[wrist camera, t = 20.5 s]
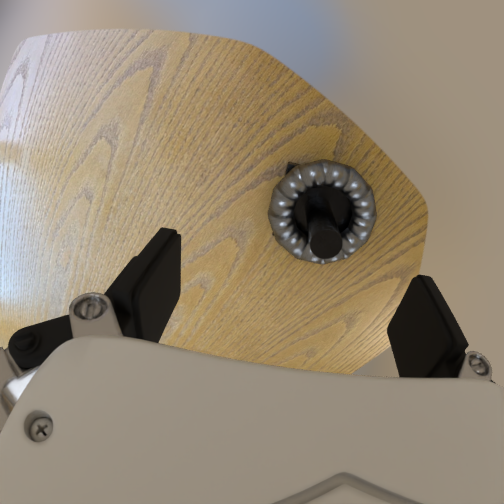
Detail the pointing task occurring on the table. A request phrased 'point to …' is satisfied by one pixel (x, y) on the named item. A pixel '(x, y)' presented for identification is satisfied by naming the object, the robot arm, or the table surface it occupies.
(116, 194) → the table surface
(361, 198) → the dark gray twisted ring
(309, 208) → the black peg stand
